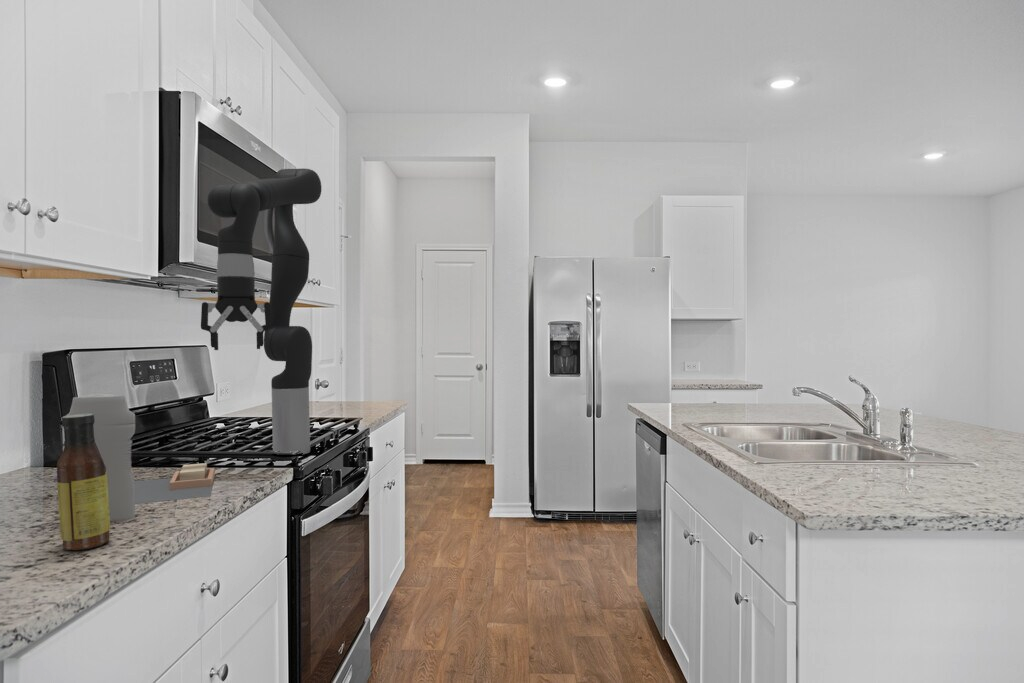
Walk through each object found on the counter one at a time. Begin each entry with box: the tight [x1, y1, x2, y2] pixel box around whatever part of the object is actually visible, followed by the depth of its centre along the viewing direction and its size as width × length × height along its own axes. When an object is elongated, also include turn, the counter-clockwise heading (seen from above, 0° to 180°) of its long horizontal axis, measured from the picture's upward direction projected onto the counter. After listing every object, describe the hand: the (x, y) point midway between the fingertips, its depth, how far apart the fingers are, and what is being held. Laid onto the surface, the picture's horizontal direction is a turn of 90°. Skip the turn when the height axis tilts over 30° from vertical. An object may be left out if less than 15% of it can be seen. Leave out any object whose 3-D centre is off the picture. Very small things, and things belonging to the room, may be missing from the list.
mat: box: [134, 473, 216, 505], centre depth 127 cm, size 20×16×1 cm
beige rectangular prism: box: [179, 462, 208, 481], centre depth 132 cm, size 8×4×3 cm, turn 23°
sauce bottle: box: [56, 414, 111, 552], centre depth 95 cm, size 6×6×20 cm
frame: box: [170, 467, 216, 490], centre depth 132 cm, size 11×8×2 cm
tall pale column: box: [65, 392, 136, 523], centre depth 106 cm, size 11×4×22 cm, turn 106°
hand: (237, 349), depth 139 cm, fingers open, 8 cm apart
